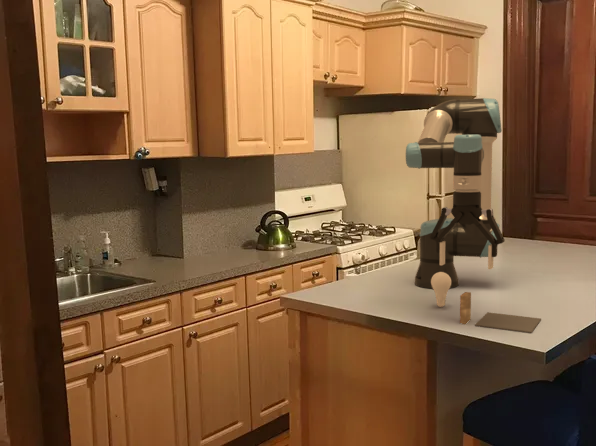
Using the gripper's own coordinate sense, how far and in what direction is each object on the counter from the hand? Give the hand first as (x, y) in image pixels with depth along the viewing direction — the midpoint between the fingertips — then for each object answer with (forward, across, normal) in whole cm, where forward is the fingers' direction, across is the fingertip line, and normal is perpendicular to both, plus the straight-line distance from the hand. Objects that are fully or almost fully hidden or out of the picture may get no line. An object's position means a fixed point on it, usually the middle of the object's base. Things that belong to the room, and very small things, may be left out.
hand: (466, 266), depth 178 cm
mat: (+16, +11, +4) cm, 20 cm away
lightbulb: (+16, -11, +12) cm, 23 cm away
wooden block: (+16, 0, 0) cm, 16 cm away
